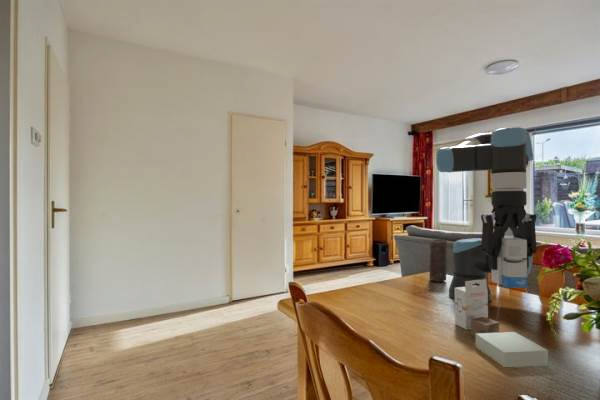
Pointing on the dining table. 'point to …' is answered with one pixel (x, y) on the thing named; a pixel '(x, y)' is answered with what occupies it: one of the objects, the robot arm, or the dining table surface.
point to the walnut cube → (483, 326)
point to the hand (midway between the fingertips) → (508, 281)
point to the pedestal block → (511, 349)
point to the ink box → (514, 262)
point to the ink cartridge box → (471, 302)
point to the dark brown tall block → (438, 260)
